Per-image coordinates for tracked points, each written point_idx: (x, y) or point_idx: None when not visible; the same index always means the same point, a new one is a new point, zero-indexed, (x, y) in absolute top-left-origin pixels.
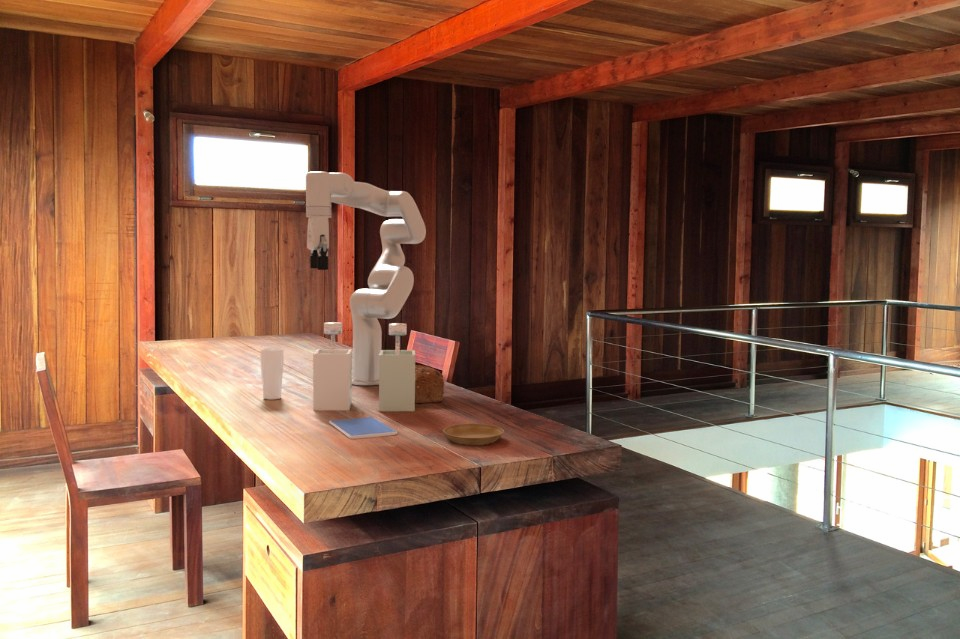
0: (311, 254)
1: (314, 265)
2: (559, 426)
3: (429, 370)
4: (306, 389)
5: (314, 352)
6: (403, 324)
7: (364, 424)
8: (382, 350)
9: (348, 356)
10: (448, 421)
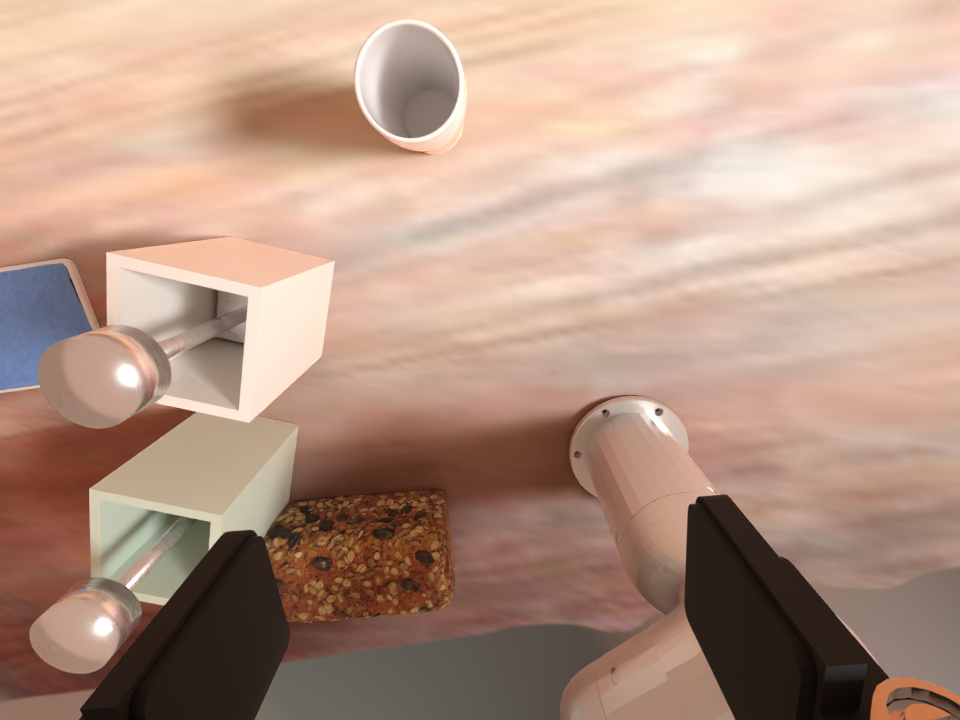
0: (873, 712)
1: (701, 568)
2: (46, 692)
3: None
4: (566, 253)
5: (151, 263)
6: (58, 660)
7: (20, 341)
8: (209, 519)
9: None
10: (88, 525)
